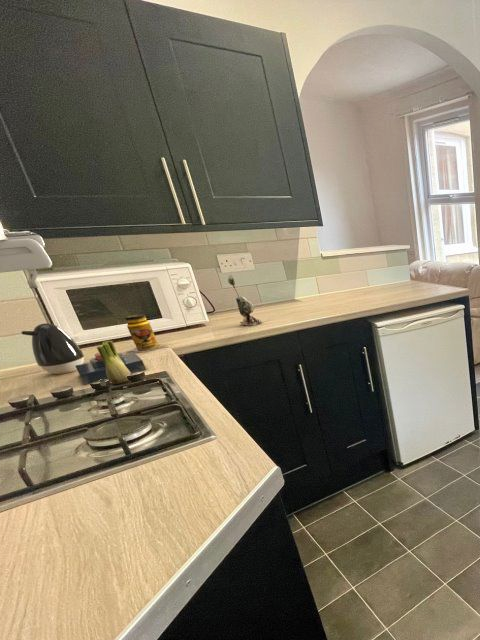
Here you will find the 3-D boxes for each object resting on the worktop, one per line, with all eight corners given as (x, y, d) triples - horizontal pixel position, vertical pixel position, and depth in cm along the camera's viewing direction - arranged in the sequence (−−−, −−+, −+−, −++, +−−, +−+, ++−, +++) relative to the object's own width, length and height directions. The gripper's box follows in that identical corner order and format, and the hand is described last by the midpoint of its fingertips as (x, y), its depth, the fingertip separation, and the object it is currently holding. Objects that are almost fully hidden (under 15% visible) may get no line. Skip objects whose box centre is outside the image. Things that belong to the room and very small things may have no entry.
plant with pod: (239, 329, 167) (222, 278, 159) (240, 322, 176) (224, 274, 168) (262, 325, 171) (247, 275, 163) (261, 319, 180) (247, 272, 172)
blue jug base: (84, 385, 119) (76, 368, 117) (79, 375, 126) (71, 360, 124) (146, 369, 128) (139, 354, 126) (138, 361, 135) (131, 347, 133)
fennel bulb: (118, 387, 116) (99, 346, 111) (104, 386, 117) (84, 345, 112) (139, 378, 121) (121, 339, 116) (125, 377, 122) (107, 338, 118)
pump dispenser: (34, 376, 127) (8, 328, 121) (75, 364, 136) (52, 318, 130) (57, 378, 124) (31, 329, 118) (97, 366, 133) (74, 319, 127)
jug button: (98, 362, 122) (95, 356, 122) (95, 359, 125) (93, 353, 124) (117, 357, 125) (115, 352, 125) (115, 354, 128) (112, 349, 127)
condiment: (147, 351, 145) (133, 318, 140) (126, 351, 146) (111, 318, 141) (166, 345, 151) (153, 312, 146) (146, 344, 153) (132, 312, 148)
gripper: (37, 230, 110) (62, 283, 116) (-90, 237, 96) (-54, 297, 102) (39, 230, 106) (65, 285, 112) (-93, 238, 92) (-56, 300, 98)
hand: (7, 291), depth 107 cm, fingers open, 8 cm apart
